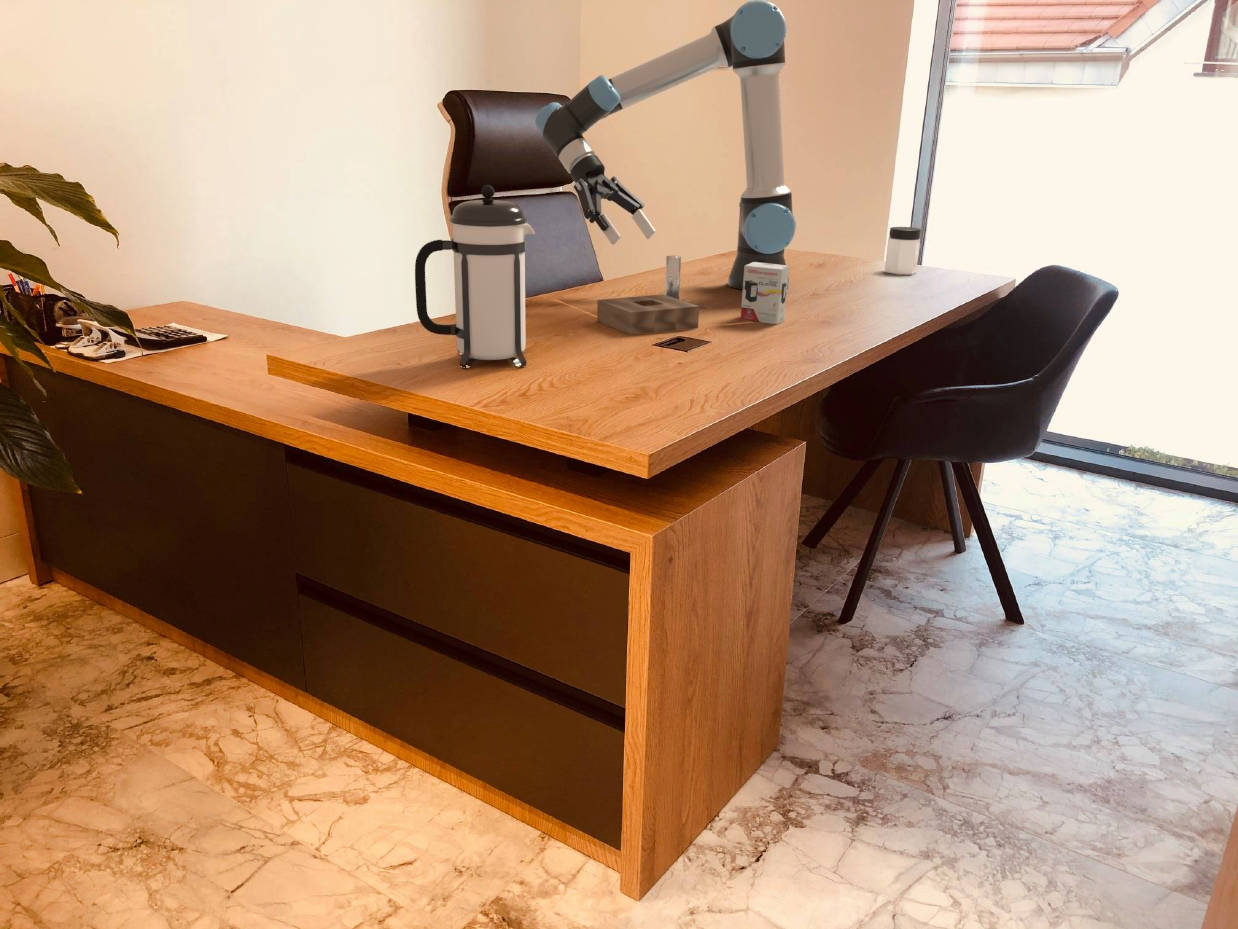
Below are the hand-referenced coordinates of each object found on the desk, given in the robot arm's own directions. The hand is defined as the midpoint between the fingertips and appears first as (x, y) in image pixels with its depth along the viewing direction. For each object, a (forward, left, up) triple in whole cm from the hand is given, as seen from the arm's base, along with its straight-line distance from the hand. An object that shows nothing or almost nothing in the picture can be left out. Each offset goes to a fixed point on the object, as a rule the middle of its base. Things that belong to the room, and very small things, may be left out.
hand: (634, 237), depth 226 cm
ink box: (-16, +28, -15) cm, 36 cm away
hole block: (+9, +22, -14) cm, 28 cm away
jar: (-91, -9, -15) cm, 92 cm away
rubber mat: (-5, +9, -14) cm, 18 cm away
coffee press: (+51, +37, -15) cm, 65 cm away
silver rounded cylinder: (-5, +9, -14) cm, 18 cm away
